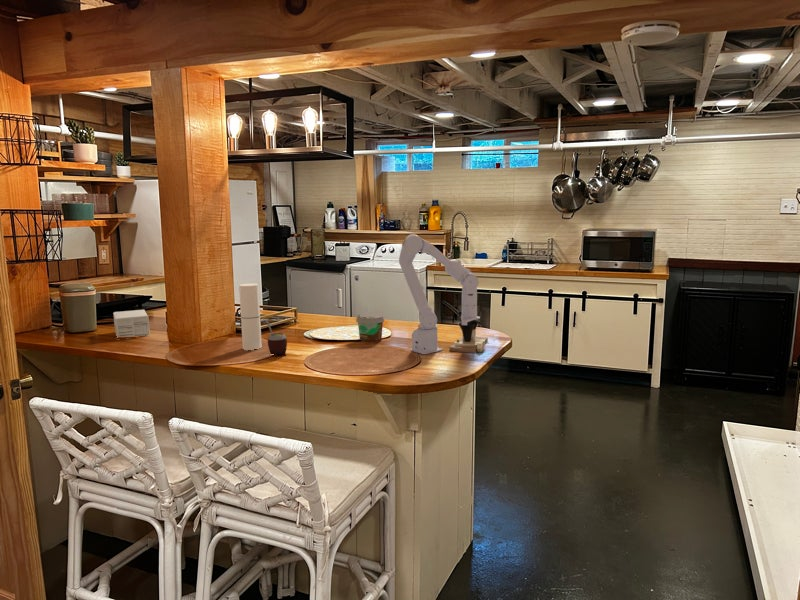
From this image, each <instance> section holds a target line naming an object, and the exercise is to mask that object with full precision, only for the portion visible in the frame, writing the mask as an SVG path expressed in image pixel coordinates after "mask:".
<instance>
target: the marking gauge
mask: <svg viewBox="0 0 800 600" xmlns="http://www.w3.org/2000/svg"><path fill="white" fill-rule="evenodd" d="M476 329H477V328H476ZM476 329H473V331H472V336H471V341H470V342H465V341H464V337H463V336H462V337H463V341H459V339H456V341H455V342H454V343H455V346H461V347H474V348H477V352H478V353H482V352H483V351H484V350H485V349H486V343H485V340H480V341H479V342H476V337H477V336H476V335H477V334H476V331H477V330H476ZM477 352H476V353H477Z"/></svg>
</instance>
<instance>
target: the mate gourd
mask: <svg viewBox="0 0 800 600" xmlns="http://www.w3.org/2000/svg"><path fill="white" fill-rule="evenodd" d="M261 319H262V320H263V321H264V322H265V323H266V325H267V327H268V329H269V331H270V334H269V336H268V337H267V347H268V350H269V355H270V354H274V355H275V356H273V358H274V357H276V358H278V357H286V356H287V354H286V353H287V346H288V339H287V335H285V334H284V333H282V332H274V333H273V330H272V328H271V324H270V322H269V321H268V320H267V319H265V318H263V317H261ZM277 356H278V357H277Z"/></svg>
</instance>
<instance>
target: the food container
mask: <svg viewBox="0 0 800 600" xmlns="http://www.w3.org/2000/svg"><path fill="white" fill-rule="evenodd" d="M355 321H356V323H357V326H358V335H359V336H358V337H359V340H360V339H361V341H360V342H362V343H378V342H382V339H383V327H384V326H383V325H384V323H385V318H384V317H383V316H381V317H374V316H360V314H358V315H357V316H356V320H355Z"/></svg>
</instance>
